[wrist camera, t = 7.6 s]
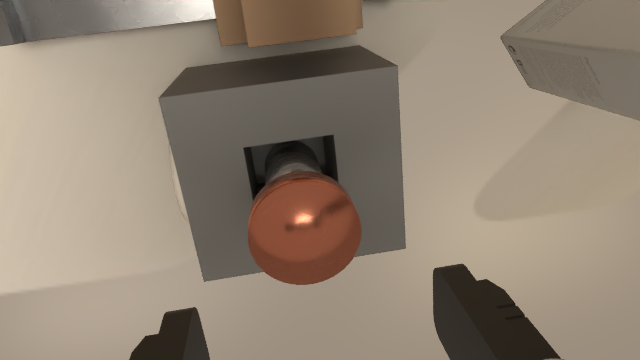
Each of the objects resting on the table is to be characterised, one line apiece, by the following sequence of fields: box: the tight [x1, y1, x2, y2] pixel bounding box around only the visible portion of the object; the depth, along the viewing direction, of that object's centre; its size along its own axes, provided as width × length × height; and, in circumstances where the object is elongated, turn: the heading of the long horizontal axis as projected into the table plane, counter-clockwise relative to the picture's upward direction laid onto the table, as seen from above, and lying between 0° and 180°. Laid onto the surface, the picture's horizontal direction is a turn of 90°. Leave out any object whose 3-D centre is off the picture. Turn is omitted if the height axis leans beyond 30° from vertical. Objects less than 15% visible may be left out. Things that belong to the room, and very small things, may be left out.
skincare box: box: [501, 0, 640, 120], centre depth 23 cm, size 6×4×12 cm
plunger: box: [248, 140, 362, 285], centre depth 20 cm, size 4×4×7 cm
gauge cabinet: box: [159, 45, 406, 282], centre depth 25 cm, size 10×9×8 cm
